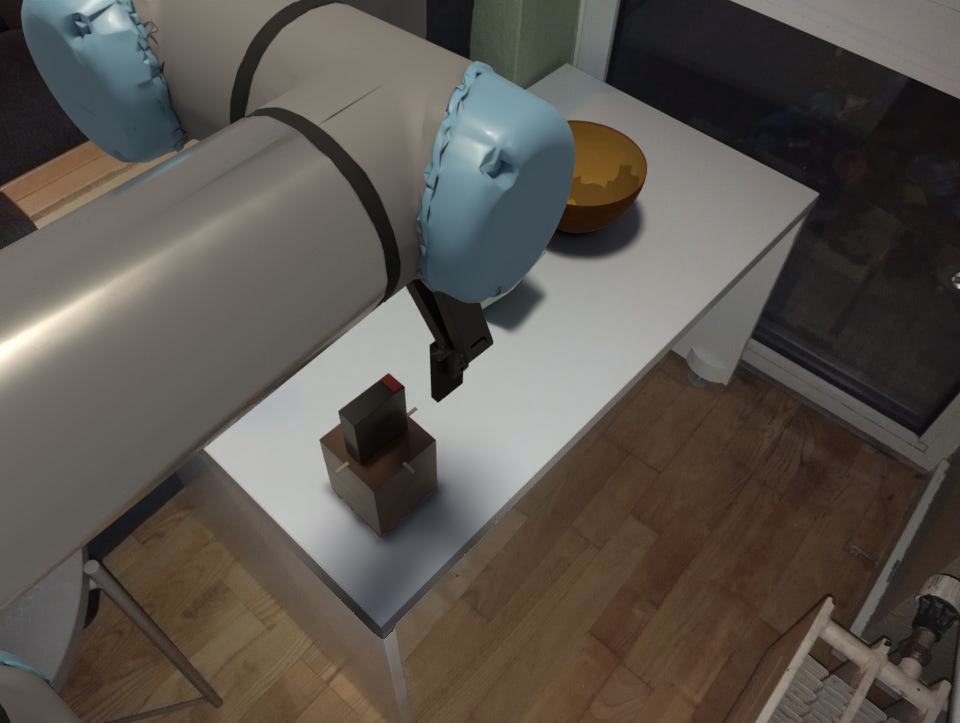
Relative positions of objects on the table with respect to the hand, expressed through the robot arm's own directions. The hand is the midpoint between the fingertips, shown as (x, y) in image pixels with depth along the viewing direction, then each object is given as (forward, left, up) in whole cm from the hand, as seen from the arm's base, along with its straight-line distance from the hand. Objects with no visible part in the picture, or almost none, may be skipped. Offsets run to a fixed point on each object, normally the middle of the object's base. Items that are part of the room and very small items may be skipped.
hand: (389, 341), depth 62 cm
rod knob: (-2, +1, -15) cm, 15 cm away
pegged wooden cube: (-2, +1, -25) cm, 25 cm away
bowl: (+45, +15, -25) cm, 54 cm away
